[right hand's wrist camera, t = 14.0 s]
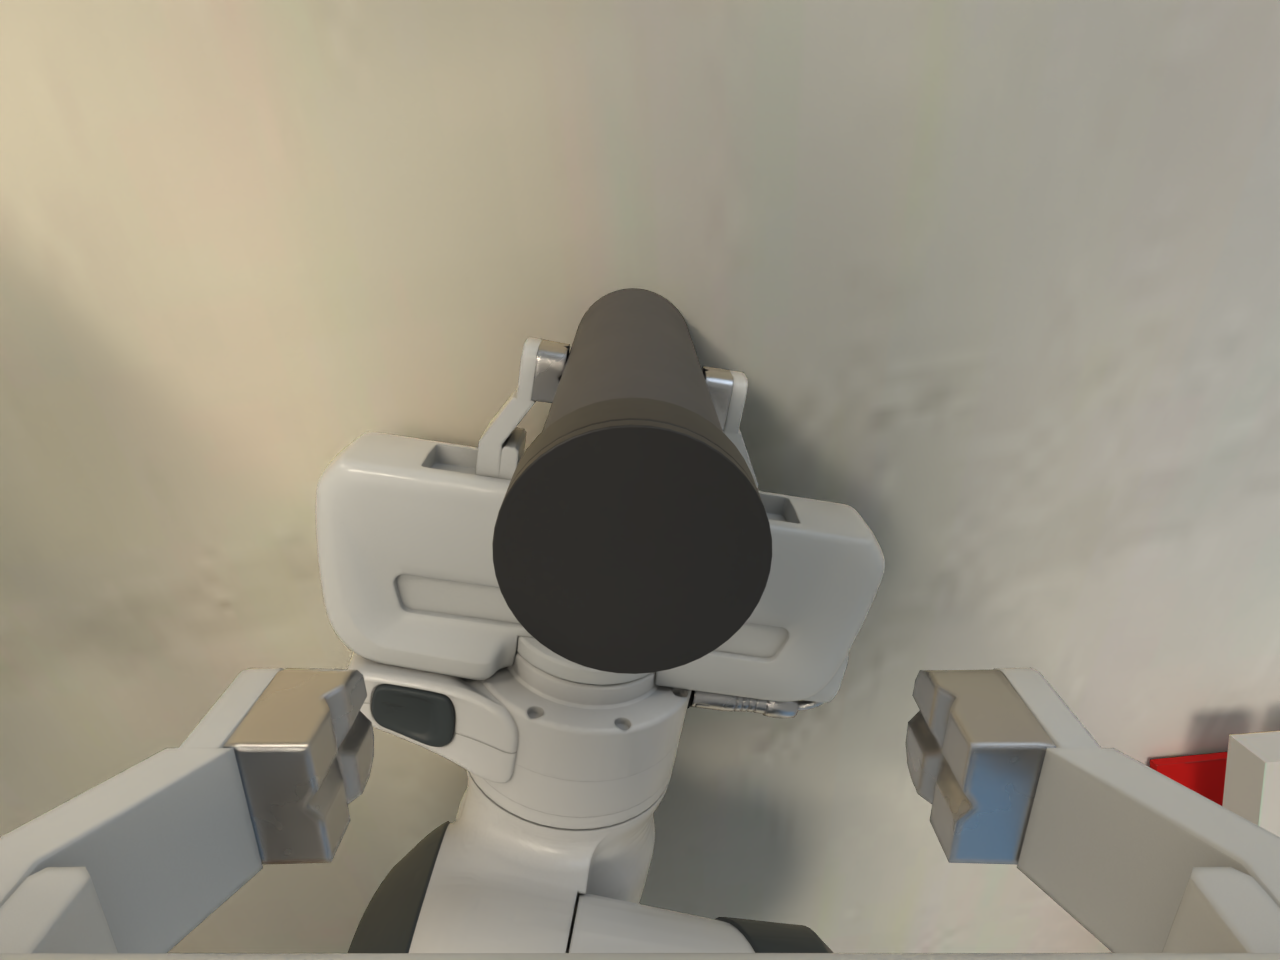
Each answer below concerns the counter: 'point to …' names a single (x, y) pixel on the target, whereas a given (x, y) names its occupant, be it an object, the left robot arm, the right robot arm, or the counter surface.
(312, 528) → the counter surface
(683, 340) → the dark grey long cylinder
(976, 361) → the counter surface
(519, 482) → the lid
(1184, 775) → the toy
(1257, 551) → the counter surface
